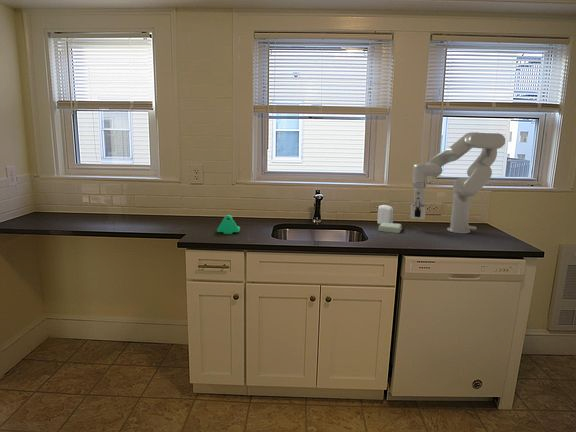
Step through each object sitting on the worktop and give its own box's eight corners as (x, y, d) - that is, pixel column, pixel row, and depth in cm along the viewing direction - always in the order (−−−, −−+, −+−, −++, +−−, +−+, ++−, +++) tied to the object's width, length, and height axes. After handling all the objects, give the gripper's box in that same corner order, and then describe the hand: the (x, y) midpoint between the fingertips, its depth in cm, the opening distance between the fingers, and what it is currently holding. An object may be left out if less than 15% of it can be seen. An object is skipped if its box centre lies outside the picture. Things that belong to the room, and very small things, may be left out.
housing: (425, 217, 241) (425, 204, 239) (424, 219, 236) (425, 205, 235) (410, 216, 243) (411, 203, 242) (410, 218, 239) (410, 205, 237)
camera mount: (240, 230, 233) (240, 213, 231) (238, 234, 226) (238, 216, 224) (219, 230, 233) (218, 213, 231) (217, 233, 226) (216, 215, 224)
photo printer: (376, 223, 259) (377, 204, 256) (380, 222, 261) (381, 203, 259) (389, 226, 251) (390, 206, 248) (393, 225, 254) (395, 206, 251)
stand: (401, 228, 245) (401, 223, 244) (399, 233, 234) (399, 228, 233) (381, 226, 249) (381, 222, 249) (378, 231, 238) (378, 226, 238)
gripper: (425, 187, 227) (423, 219, 230) (426, 183, 242) (425, 213, 246) (411, 186, 229) (409, 218, 233) (413, 183, 245) (412, 212, 249)
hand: (417, 215), depth 239 cm, fingers closed on housing, 5 cm apart
